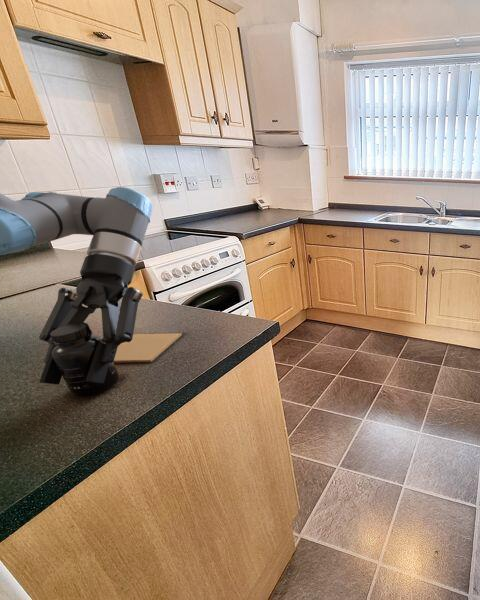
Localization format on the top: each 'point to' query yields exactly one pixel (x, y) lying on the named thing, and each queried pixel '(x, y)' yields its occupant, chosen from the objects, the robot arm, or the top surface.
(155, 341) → the cork mat
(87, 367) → the supplement bottle
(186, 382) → the top surface
